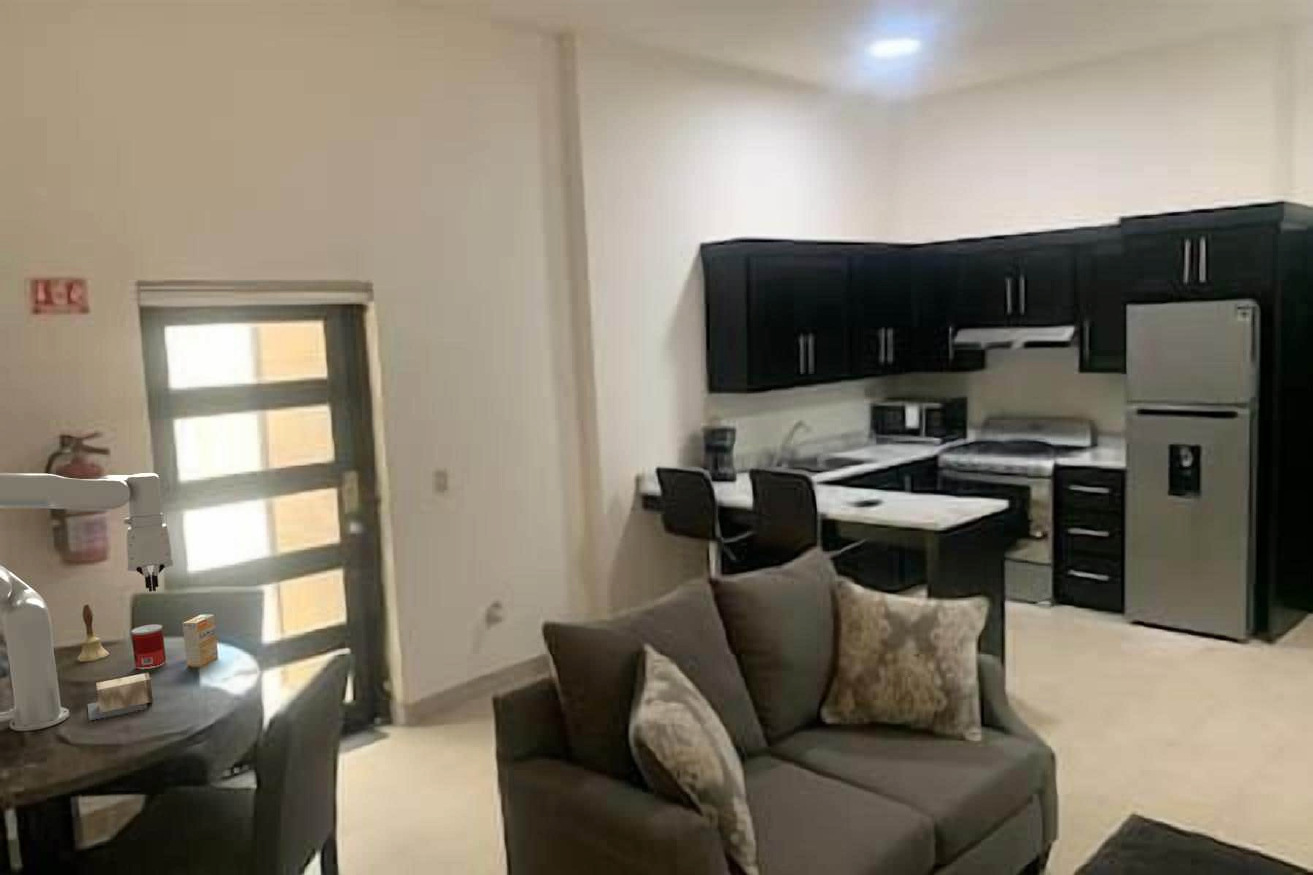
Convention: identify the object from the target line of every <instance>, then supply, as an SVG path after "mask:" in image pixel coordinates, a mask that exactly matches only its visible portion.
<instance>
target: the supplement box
mask: <svg viewBox="0 0 1313 875" xmlns="http://www.w3.org/2000/svg"><path fill="white" fill-rule="evenodd" d="M181 624H182V630H183V632H182V633H183V639H184V640H183V642H184V650H185V651H184V652H185V658H186V659H185V660H186V667H187V666H192V667H191V668H202V667H204V666H205V665H207V664H209V663H211V662H212V661H214V660H216V659H218V658H219V653H218V652H219V651H218V642H217V634H216V622H215V614H199V615H197V616H195V617H192V618H191V619H188V620H186V621H184V622H182V623H181Z"/></svg>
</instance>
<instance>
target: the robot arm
mask: <svg viewBox="0 0 1313 875" xmlns="http://www.w3.org/2000/svg"><path fill="white" fill-rule="evenodd" d="M161 495H162V494H161V483H160V477H159V475H158V474H156V473H153V472H145V473H142V472H141V473H136V474H131V475H115V474H108V475H103V476H101V477H99V478H98V479H85V478H83V479H82V478H70V477H66V476H61V475H58V474H53V473H40V472H39V473H34V472H33V473H17V472H15V473H12V472H10V473H9V472H0V509H52V510H54V509H55V510H85V511H87V510H91V511H92V510H116V509H120V508H122V507H125V505H127V504H128V509H129V510H128V511H129V516H128V517H127V518H123V523H124V525H129V526H130V527H128V528H127V530H126V531H127V532H126V533H127V534H126V555H127V556H126V557H127V558H126V559H127V567H126V569H127V571H130V572H138V573H139V574H141V575H142V576H143V577H144V582H145V583H144V584H145V589H148V592H149V593H151V592H156V591H157V588H158V587H160V586H159V574H160V573H161V572H162V571H163V570H164V569H166V568H169V567H171V566H173V565H174V562H173V559H172V546H171V539H170V534H169V529H168V527H167V524H166V523H164V519H163V510H162V509H163V508H162V505H163V504H162V496H161ZM148 566H153V571H152V572H151V573H150V572H149V569H148ZM0 618H1V620H2V621H3V628H4V634H5V641H6V648H7V649H6V650H7V658H8V663H9V664H8V665H9V668H10V677H11V686H12V693H13V699H14V706H13V708H10V709H9V710H8V711H1V712H0V723H4V722H5V723H6V722H8V721H10V723H9V727H10V729H11V730H13V731H17V732H29V731H35V730H40V729H45V728H49V727H52V726H54V725H57V724H59V723H61V722H63V721H65V720H66V719H67V718H69V716H70V712H69V709H68V708H66V707H63V706H62V705H61V695H60V689H59V682H58V681H59V680H58V675H57V674H58V673H57V666H56V659H55V652H54V644H53V642H54V641H53V635H52V620H51V614H50V610H49V608H48V605H47V604H46V601H45V600H44V598H43V597H42V596H41V595H40V594H39V593H38V592H37V591H35V590H34V589H33V588H31V586H29V585H28V584H27V583H25V582H24V581H23V580H21V579H20V578H19V577H18V576H16V575H15V574H13V572H11V571H9V569H7V568H5V567H4V566H2V565H0Z"/></svg>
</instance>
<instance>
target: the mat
mask: <svg viewBox="0 0 1313 875" xmlns="http://www.w3.org/2000/svg"><path fill="white" fill-rule="evenodd" d="M146 708H147V709H148V704H147V703H144V704H140V705H135V706H130V707H125V708H121V709H116V710H111V711H107V712H102V713H100V709H99V701H96V702H91V703H87V711H88V712H87V713H88V722H89V721H90V722H92V721H91V720H94V721H97V720H96V719H99V718H104V719H107V718H106V717H108V716H113V715H117V716H120V715H121V716H122V715H126V714H125V713H127V714H130V713H129V712H131V713H135V712H134V711H136V712H138V711H137V710H141V711H144V710H143V709H145V710H147V709H146ZM113 717H114V716H113ZM108 718H109V717H108ZM99 720H100V719H99Z"/></svg>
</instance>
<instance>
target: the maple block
mask: <svg viewBox="0 0 1313 875" xmlns="http://www.w3.org/2000/svg"><path fill="white" fill-rule="evenodd" d="M96 693H97V700H98V701H97V702H99V709H100V713H102V712H107V711H111V710H116V709H121V708H125V707H130V706H135V705H140V704H144V703H146V704H147V703H148V704H149V703H153V702H154V700H153V690H152V682H151V677H150V674H149V672H143V673H140V674H135V675H129V676H123V677H119V678H115V679H110V680H103V681H99V682H96Z"/></svg>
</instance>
